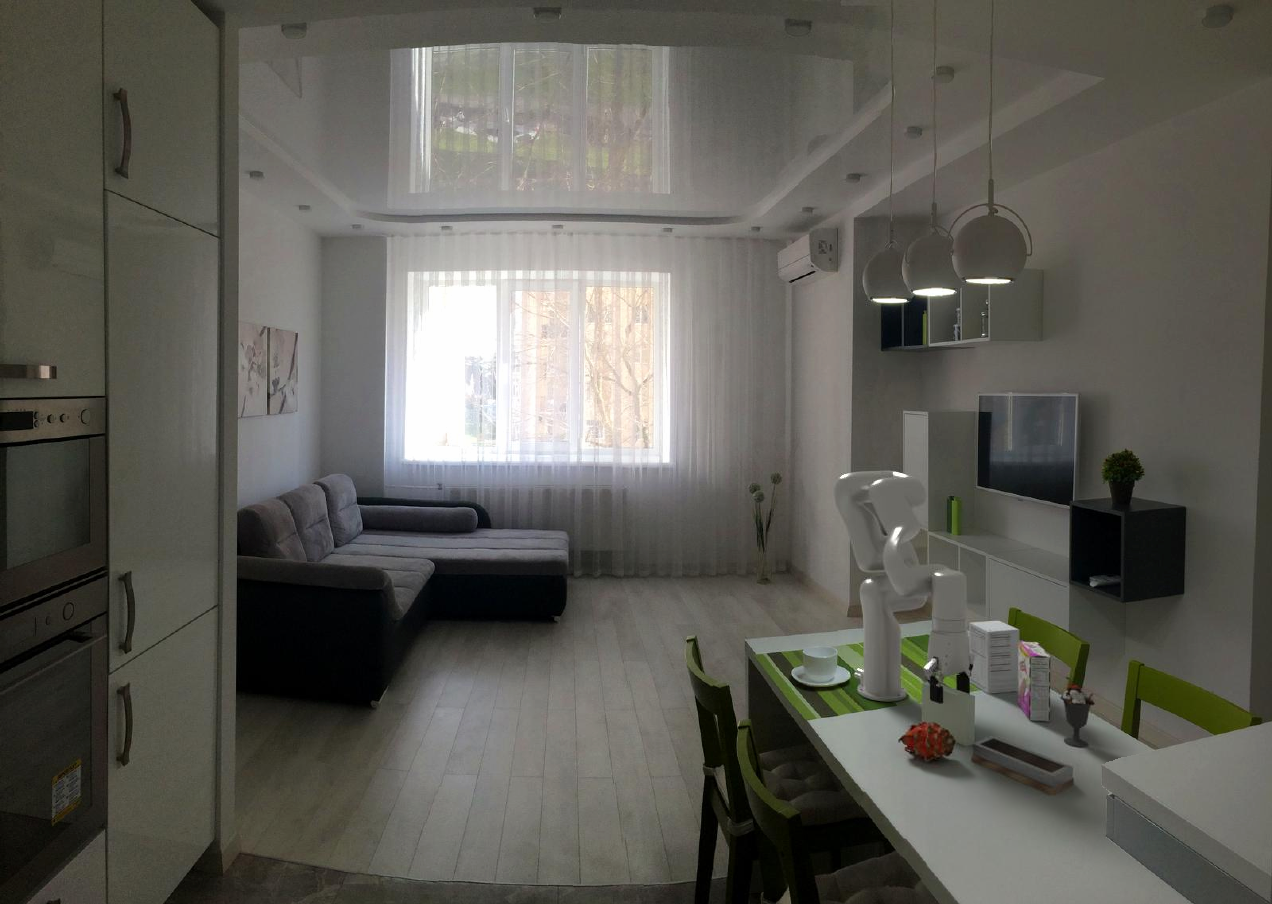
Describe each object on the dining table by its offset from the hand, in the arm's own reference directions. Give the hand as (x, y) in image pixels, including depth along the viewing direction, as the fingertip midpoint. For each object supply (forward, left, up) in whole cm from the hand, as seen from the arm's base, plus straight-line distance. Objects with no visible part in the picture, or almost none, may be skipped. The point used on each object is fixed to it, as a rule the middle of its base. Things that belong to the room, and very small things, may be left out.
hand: (950, 697), depth 186 cm
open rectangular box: (+19, -3, -9) cm, 22 cm away
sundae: (+18, +20, -10) cm, 29 cm away
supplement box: (-13, +36, -10) cm, 40 cm away
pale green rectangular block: (-1, 0, -9) cm, 9 cm away
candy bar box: (+3, +28, -10) cm, 30 cm away
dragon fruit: (+4, -13, -10) cm, 17 cm away
